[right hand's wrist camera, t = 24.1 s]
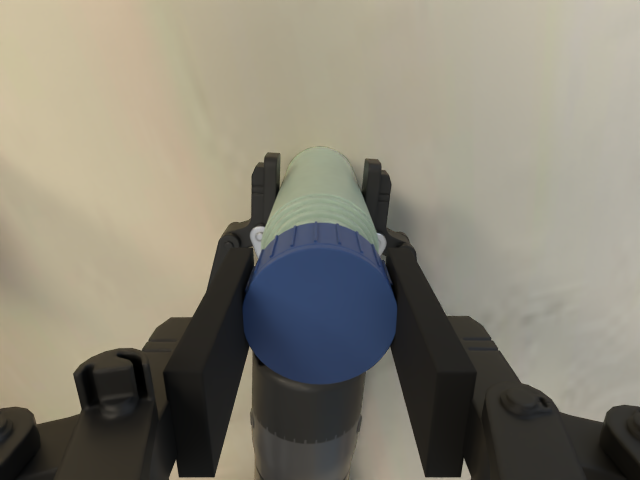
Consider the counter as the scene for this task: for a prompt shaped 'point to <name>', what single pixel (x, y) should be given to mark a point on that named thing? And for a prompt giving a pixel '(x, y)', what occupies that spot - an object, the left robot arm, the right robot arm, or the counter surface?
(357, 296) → the cap
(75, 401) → the counter surface
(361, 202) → the bottle
